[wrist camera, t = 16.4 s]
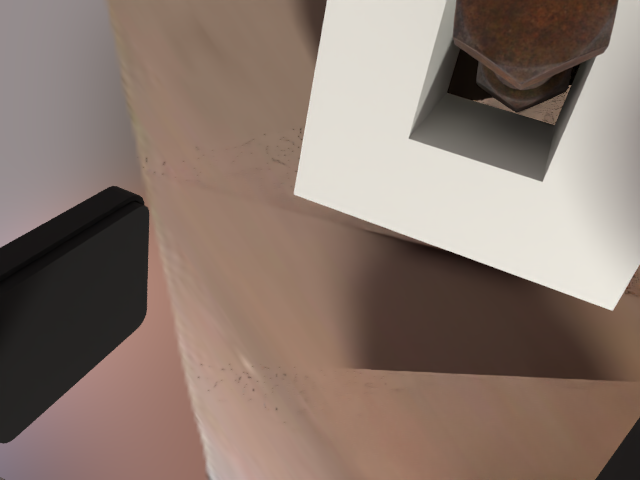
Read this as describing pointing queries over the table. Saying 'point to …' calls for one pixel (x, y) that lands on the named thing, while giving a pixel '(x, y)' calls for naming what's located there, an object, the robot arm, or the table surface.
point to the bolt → (531, 44)
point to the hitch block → (477, 150)
